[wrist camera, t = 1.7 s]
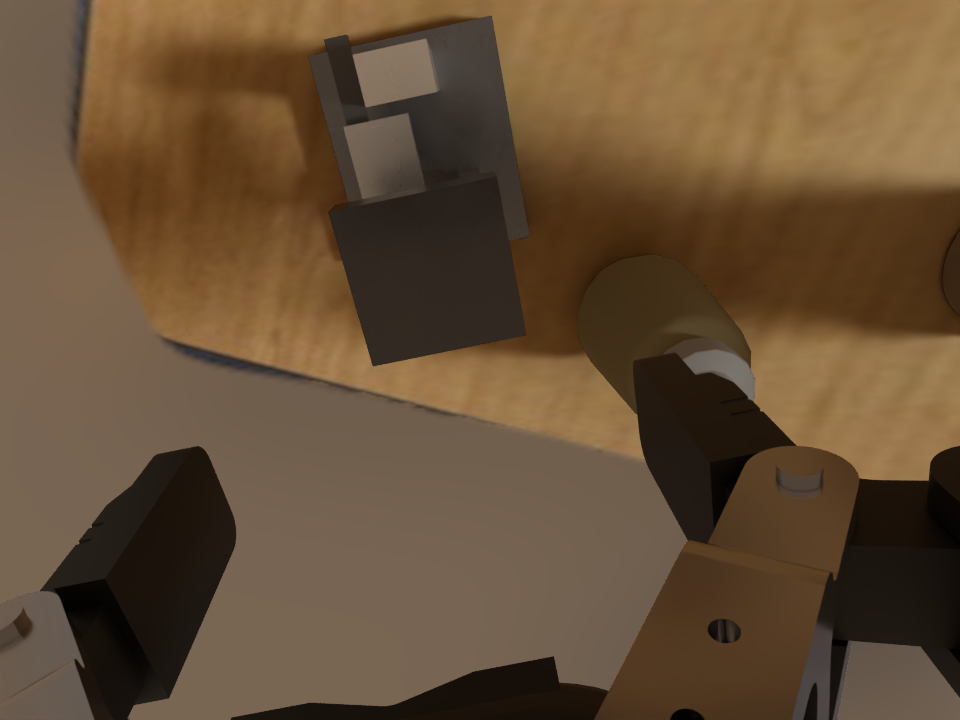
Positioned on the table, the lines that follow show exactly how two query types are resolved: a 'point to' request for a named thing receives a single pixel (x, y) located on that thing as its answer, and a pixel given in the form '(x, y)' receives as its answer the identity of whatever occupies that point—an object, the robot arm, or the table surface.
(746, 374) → the squeeze bottle
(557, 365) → the table surface
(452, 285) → the dark grey blocky piece
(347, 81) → the peak pointer
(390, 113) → the frame
